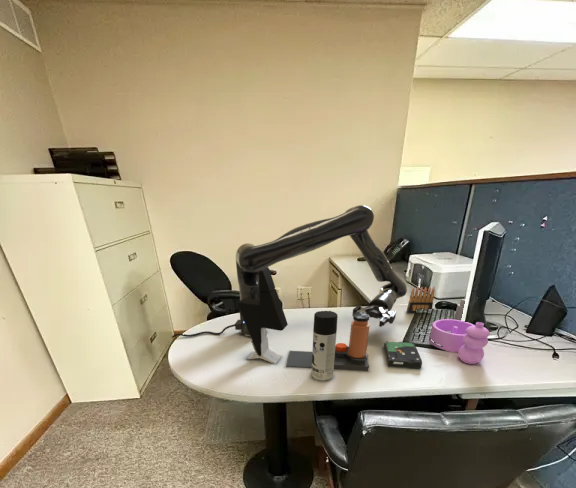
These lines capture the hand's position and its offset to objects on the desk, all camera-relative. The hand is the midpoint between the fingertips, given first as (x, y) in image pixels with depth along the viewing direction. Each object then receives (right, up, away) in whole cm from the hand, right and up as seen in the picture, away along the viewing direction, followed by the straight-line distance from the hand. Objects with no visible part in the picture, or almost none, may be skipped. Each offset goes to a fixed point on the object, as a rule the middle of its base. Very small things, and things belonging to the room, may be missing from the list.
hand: (367, 321), depth 109 cm
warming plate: (-4, -11, -4) cm, 13 cm away
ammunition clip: (+33, +10, +40) cm, 53 cm away
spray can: (-16, -18, -8) cm, 25 cm away
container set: (+34, -9, +7) cm, 36 cm away
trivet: (-21, -13, +1) cm, 25 cm away
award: (-34, -12, +2) cm, 37 cm away
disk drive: (+12, -12, +2) cm, 17 cm away
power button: (-9, -9, 0) cm, 13 cm away
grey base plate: (-8, -14, -1) cm, 16 cm away
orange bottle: (-4, -11, -4) cm, 13 cm away
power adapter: (+47, +4, +30) cm, 56 cm away
